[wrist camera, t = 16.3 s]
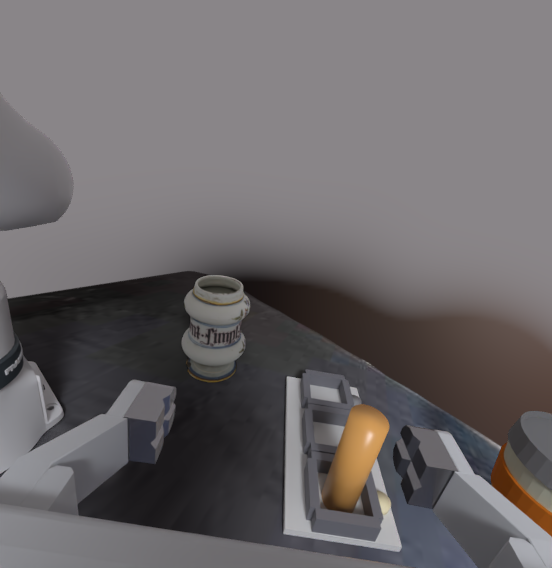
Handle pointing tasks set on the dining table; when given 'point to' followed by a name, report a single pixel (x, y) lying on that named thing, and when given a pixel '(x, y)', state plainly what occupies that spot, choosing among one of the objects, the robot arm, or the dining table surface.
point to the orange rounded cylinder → (354, 458)
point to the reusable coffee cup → (528, 468)
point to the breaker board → (328, 467)
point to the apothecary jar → (215, 327)
